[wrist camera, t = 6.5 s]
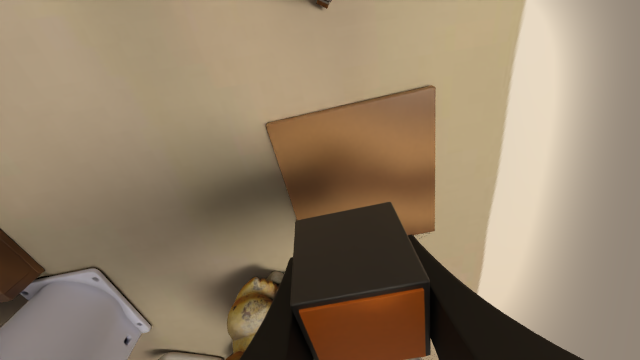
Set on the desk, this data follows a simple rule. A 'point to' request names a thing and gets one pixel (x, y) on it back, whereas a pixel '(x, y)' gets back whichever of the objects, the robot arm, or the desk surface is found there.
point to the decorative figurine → (251, 311)
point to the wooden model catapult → (323, 3)
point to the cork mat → (362, 157)
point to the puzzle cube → (360, 287)
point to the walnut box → (15, 269)
